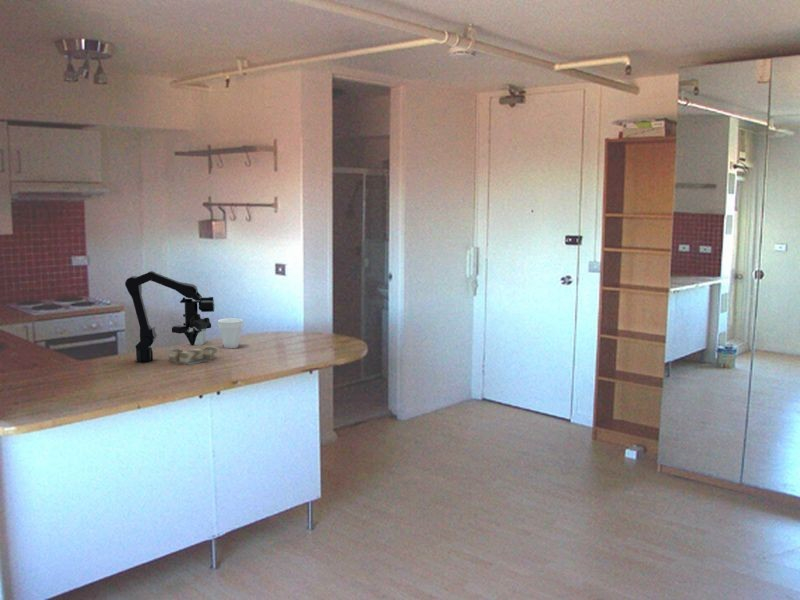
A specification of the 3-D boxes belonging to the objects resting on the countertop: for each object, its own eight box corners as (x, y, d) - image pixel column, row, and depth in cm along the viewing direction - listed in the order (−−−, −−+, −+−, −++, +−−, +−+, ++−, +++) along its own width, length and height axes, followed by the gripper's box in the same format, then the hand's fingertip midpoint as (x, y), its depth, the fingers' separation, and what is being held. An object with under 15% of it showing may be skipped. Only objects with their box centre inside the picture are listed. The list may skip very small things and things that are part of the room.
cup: (216, 345, 371) (215, 319, 369) (240, 343, 376) (239, 317, 374) (221, 350, 360) (220, 322, 358) (246, 348, 365) (245, 321, 363)
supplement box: (202, 345, 372) (202, 320, 370) (188, 345, 372) (187, 320, 370) (206, 342, 379) (206, 318, 378) (192, 342, 380) (191, 318, 378)
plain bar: (186, 362, 332) (185, 353, 331) (179, 361, 334) (179, 352, 333) (206, 357, 342) (206, 349, 341) (199, 356, 344) (199, 348, 343)
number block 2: (210, 359, 338) (209, 349, 337) (203, 358, 340) (203, 348, 339) (217, 357, 341) (217, 347, 341) (210, 356, 344) (210, 346, 343)
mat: (189, 365, 327) (189, 364, 327) (169, 361, 335) (169, 360, 335) (218, 358, 341) (218, 357, 341) (197, 354, 349) (197, 354, 349)
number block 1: (175, 361, 333) (175, 351, 332) (169, 360, 335) (168, 350, 335) (183, 359, 337) (183, 349, 336) (176, 358, 339) (176, 348, 338)
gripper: (187, 316, 323) (188, 351, 325) (218, 311, 338) (219, 344, 340) (170, 314, 329) (171, 348, 331) (202, 309, 344) (203, 341, 346)
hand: (192, 345), depth 337 cm, fingers closed
